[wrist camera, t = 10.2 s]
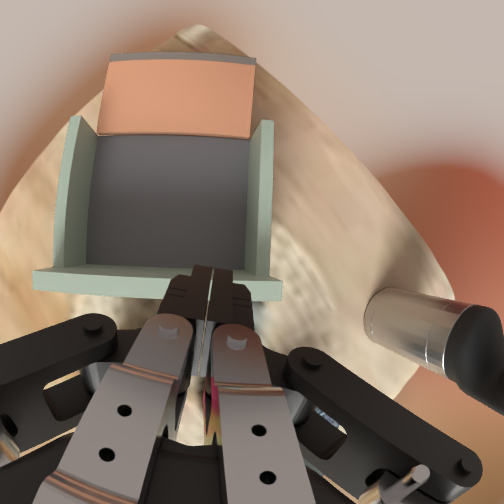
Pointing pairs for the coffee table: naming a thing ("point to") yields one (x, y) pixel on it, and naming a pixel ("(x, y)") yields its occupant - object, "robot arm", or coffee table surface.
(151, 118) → the panel
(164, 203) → the truck bed
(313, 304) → the coffee table surface
